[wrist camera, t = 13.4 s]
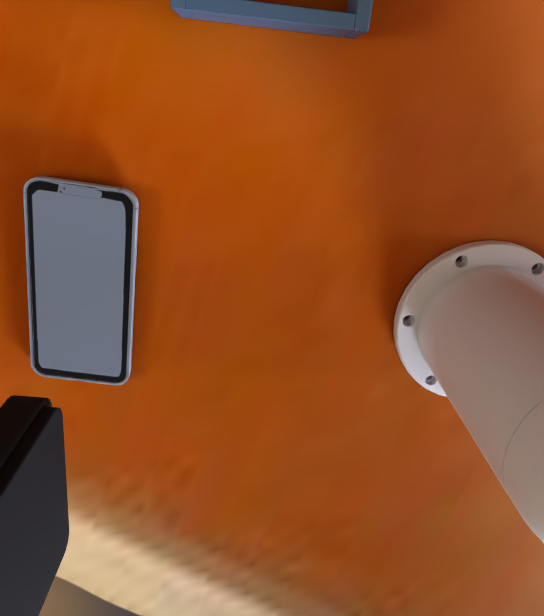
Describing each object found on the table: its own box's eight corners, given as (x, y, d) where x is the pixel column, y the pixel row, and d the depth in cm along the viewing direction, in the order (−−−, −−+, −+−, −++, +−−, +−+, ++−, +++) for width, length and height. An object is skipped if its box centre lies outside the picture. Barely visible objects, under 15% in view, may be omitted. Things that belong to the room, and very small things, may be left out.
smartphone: (30, 375, 39) (21, 175, 33) (35, 368, 40) (27, 172, 34) (129, 387, 40) (138, 192, 34) (132, 380, 41) (141, 189, 35)
